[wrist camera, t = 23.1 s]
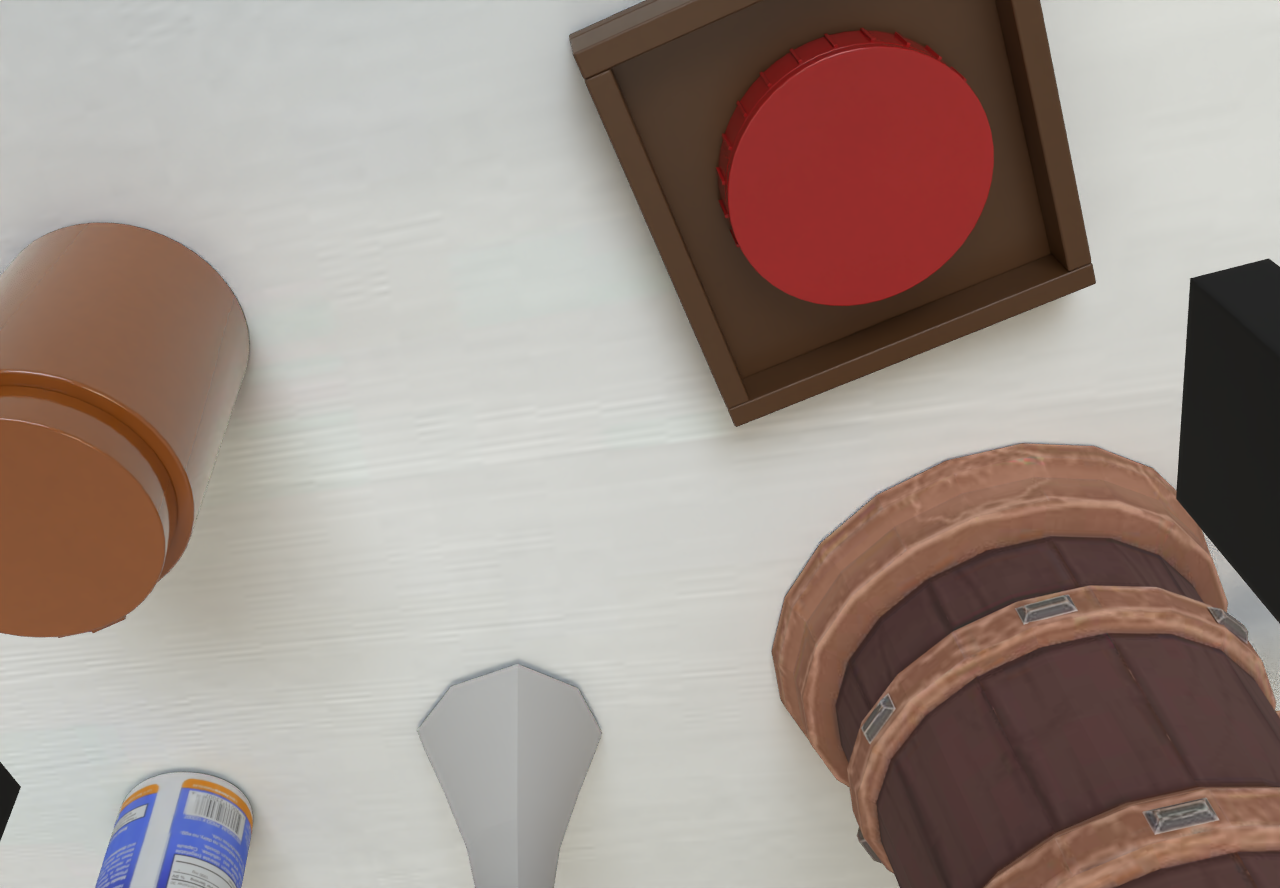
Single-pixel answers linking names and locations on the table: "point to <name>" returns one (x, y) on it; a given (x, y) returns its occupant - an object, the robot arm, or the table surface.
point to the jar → (106, 419)
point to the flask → (511, 770)
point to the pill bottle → (179, 835)
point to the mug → (1036, 681)
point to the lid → (854, 167)
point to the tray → (700, 234)
